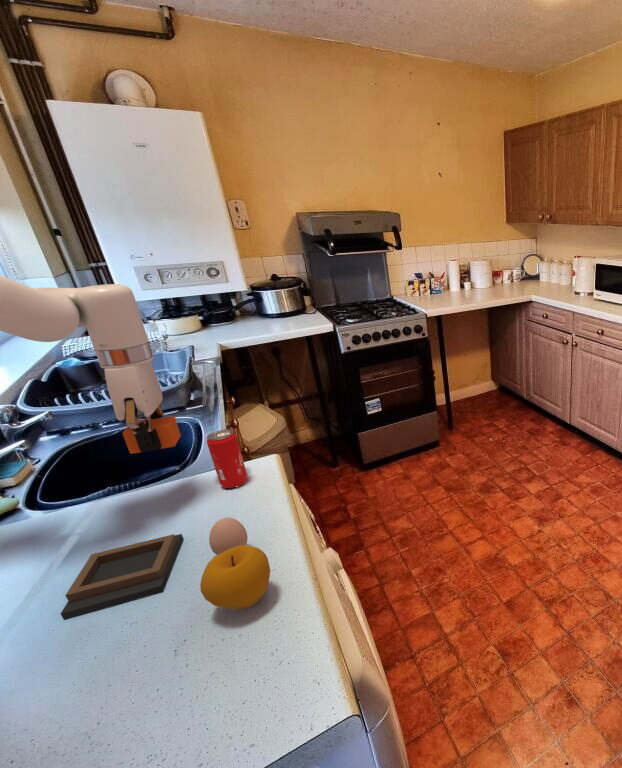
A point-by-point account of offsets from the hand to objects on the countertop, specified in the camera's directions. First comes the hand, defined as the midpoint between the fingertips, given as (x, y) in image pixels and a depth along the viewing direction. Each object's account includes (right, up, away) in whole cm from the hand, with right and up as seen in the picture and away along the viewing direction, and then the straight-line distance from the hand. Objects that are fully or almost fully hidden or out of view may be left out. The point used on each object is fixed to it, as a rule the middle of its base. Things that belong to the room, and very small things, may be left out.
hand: (155, 442), depth 85 cm
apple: (+30, -21, -20) cm, 42 cm away
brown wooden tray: (+7, -20, -14) cm, 25 cm away
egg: (+22, -18, -10) cm, 30 cm away
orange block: (0, 0, 0) cm, 0 cm away
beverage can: (+9, -10, +10) cm, 17 cm away
